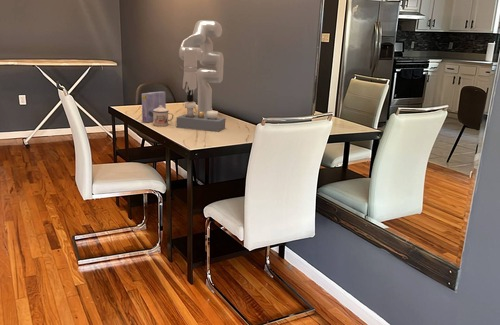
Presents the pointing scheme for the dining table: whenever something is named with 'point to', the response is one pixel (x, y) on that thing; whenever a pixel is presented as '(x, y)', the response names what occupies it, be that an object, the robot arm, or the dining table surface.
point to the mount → (200, 123)
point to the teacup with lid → (161, 116)
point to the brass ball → (200, 114)
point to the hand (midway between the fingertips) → (190, 101)
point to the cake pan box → (151, 104)
